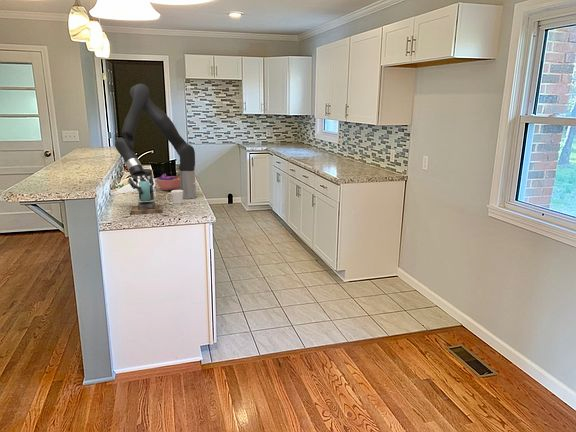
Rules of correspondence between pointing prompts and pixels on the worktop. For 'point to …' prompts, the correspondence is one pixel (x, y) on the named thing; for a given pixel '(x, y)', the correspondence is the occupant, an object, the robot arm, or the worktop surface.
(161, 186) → the cell model
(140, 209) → the walnut base
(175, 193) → the cup
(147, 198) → the teal peg
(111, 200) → the worktop surface
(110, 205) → the worktop surface
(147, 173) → the coffee jar
